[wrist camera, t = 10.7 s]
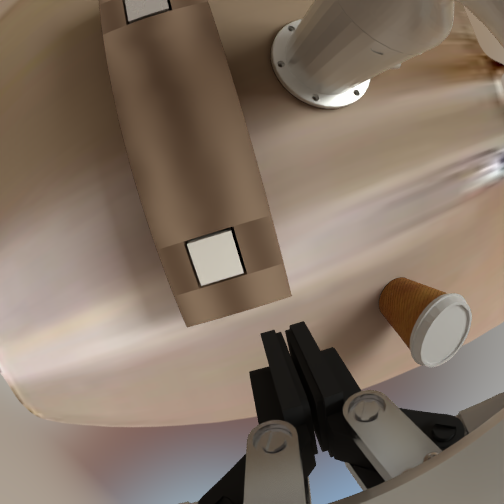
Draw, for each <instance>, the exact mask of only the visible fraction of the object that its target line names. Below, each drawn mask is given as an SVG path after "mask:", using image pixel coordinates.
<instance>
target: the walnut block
mask: <svg viewBox="0 0 504 504" xmlns="http://www.w3.org/2000/svg"><path fill="white" fill-rule="evenodd" d="M167 3H168V6H169V8H170V7H171V11H167V12H164V13H161V14H157V15H154V16H151V17H148V18H145V19H142V20H139V21H136V22H134V23H131V24H130V23H129V21H128V16H127V10H126V4H125V0H99V9H100V18H101V26H102V33H103V40H104V47H105V53H106V59H107V65H108V71H109V76H110V82H111V87H112V92H113V97H114V101H115V106H116V110H117V115H118V119H119V123H120V128H121V132H122V136H123V140H124V144H125V148H126V152H127V155H128V159H129V163H130V166H131V170H132V173H133V177H134V180H135V184H136V187H137V191H138V194H139V197H140V200H141V204H142V207H143V210H144V213H145V216H146V219H147V222H148V225H149V228H150V231H151V234H152V237H153V240H154V243H155V246H156V249H157V252H158V255H159V257H160V260H161V263H162V266H163V268H164V271H165V274H166V276H167V279H168V282H169V284H170V287H171V289H172V292H173V294H174V297H175V299H176V302H177V304H178V307H179V309H180V312H181V314H182V317H183V319H184V321H185V324H186V326H187V327H190V326H194V325H197V324H201V323H205V322H208V321H212V320H215V319H219V318H222V317H226V316H229V315H232V314H236V313H239V312H243V311H246V310H249V309H253V308H256V307H259V306H262V305H265V304H269V303H272V302H275V301H278V300H281V299H284V298H287V297H291V296H292V295H291V291H290V287H289V283H288V279H287V275H286V271H285V267H284V263H283V259H282V255H281V251H280V247H279V243H278V239H277V235H276V232H275V228H274V224H273V220H272V216H271V212H270V209H269V205H268V201H267V197H266V194H265V190H264V186H263V183H262V179H261V175H260V172H259V168H258V164H257V161H256V157H255V154H254V150H253V147H252V143H251V140H250V136H249V133H248V129H247V126H246V122H245V119H244V115H243V112H242V109H241V105H240V102H239V98H238V95H237V92H236V88H235V85H234V82H233V79H232V75H231V72H230V69H229V65H228V62H227V59H226V56H225V53H224V49H223V46H222V43H221V40H220V37H219V34H218V31H217V28H216V24H215V21H214V18H213V15H212V12H211V9H210V6H209V3H208V0H167ZM229 227H233V231H234V234H235V237H236V241H237V244H238V248H239V251H240V254H241V258H239V259H240V262H241V265H242V269H243V272H244V273H242V274H239V275H236V276H232V277H229V278H226V279H222V280H219V281H216V282H212V283H209V284H206V285H202V286H201V284H200V281H199V278H198V275H197V272H196V270H195V267H194V264H193V261H192V258H191V255H190V252H189V249H188V246H187V243H188V240H190V239H193V238H197V237H200V236H203V235H206V234H210V233H213V232H216V231H219V230H223V229H226V228H229Z"/></svg>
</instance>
